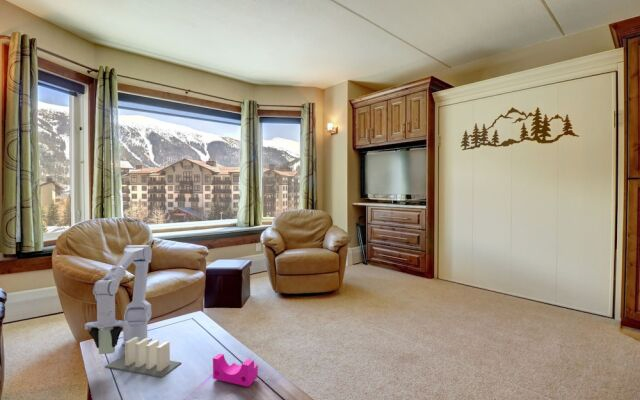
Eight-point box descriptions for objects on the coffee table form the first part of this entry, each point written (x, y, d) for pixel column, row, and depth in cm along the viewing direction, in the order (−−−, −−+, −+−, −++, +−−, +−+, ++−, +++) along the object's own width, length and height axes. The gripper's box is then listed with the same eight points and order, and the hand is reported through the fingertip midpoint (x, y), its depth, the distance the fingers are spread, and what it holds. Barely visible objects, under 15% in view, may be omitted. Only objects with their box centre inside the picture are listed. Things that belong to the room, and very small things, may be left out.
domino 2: (135, 367, 123) (135, 343, 123) (145, 360, 128) (145, 338, 128) (138, 367, 123) (138, 344, 123) (148, 361, 127) (148, 338, 127)
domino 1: (125, 365, 124) (124, 342, 124) (135, 358, 129) (135, 336, 129) (128, 365, 124) (128, 342, 124) (138, 359, 129) (138, 337, 129)
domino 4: (156, 370, 120) (156, 347, 120) (166, 363, 125) (166, 341, 125) (160, 371, 120) (159, 347, 120) (169, 364, 125) (169, 341, 125)
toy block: (257, 376, 117) (257, 356, 117) (248, 386, 111) (248, 365, 111) (223, 369, 122) (223, 350, 122) (213, 378, 116) (212, 358, 116)
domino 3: (146, 368, 122) (145, 345, 122) (155, 362, 127) (155, 339, 126) (149, 369, 121) (149, 346, 121) (159, 362, 126) (159, 340, 126)
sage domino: (112, 353, 121) (112, 330, 121) (98, 354, 120) (98, 330, 120) (115, 351, 123) (114, 328, 122) (101, 352, 122) (100, 328, 122)
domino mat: (104, 367, 124) (104, 365, 124) (126, 354, 134) (126, 353, 134) (162, 377, 117) (162, 376, 117) (181, 363, 126) (181, 362, 126)
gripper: (79, 315, 117) (79, 352, 117) (120, 314, 118) (121, 350, 118) (91, 308, 124) (91, 343, 124) (130, 307, 125) (130, 341, 125)
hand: (106, 346), depth 122 cm, fingers closed on sage domino, 5 cm apart
